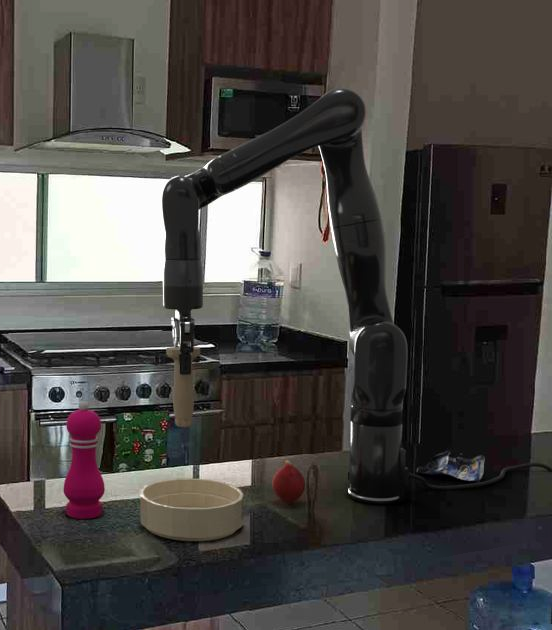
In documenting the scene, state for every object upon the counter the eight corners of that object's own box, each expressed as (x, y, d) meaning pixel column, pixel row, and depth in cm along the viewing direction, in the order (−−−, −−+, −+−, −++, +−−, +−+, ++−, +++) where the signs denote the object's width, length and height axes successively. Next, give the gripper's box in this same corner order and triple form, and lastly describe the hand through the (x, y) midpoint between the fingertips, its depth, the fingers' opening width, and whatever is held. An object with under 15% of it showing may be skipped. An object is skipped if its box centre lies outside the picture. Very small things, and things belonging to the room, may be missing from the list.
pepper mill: (73, 522, 140) (72, 406, 139) (57, 510, 147) (56, 399, 145) (111, 516, 144) (111, 402, 142) (94, 504, 150) (93, 395, 148)
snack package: (442, 487, 161) (494, 481, 163) (438, 454, 161) (491, 449, 164) (408, 481, 172) (457, 475, 175) (405, 450, 173) (454, 445, 176)
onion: (306, 501, 152) (307, 458, 151) (302, 510, 147) (303, 466, 146) (274, 498, 154) (275, 455, 153) (269, 507, 148) (270, 463, 148)
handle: (203, 427, 158) (203, 349, 156) (171, 429, 156) (171, 350, 154) (195, 422, 162) (194, 346, 161) (163, 424, 160) (163, 347, 159)
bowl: (232, 507, 148) (233, 477, 148) (252, 541, 131) (252, 508, 131) (137, 509, 147) (137, 479, 147) (143, 544, 130) (143, 510, 130)
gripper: (208, 285, 150) (208, 377, 151) (197, 281, 164) (197, 366, 165) (166, 285, 149) (167, 378, 151) (159, 282, 164) (160, 367, 165)
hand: (183, 371), depth 158 cm, fingers closed on handle, 5 cm apart
